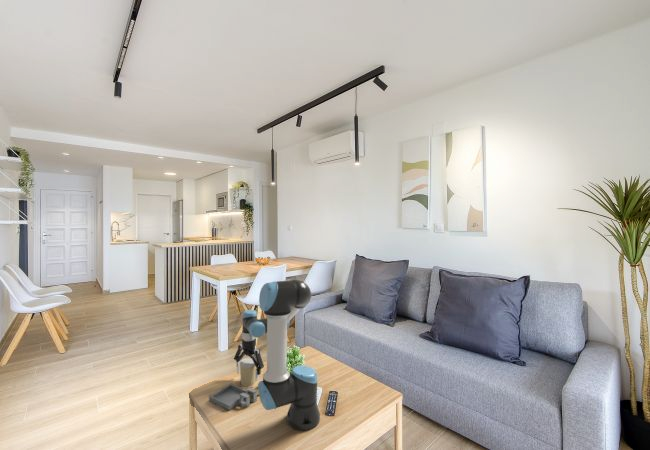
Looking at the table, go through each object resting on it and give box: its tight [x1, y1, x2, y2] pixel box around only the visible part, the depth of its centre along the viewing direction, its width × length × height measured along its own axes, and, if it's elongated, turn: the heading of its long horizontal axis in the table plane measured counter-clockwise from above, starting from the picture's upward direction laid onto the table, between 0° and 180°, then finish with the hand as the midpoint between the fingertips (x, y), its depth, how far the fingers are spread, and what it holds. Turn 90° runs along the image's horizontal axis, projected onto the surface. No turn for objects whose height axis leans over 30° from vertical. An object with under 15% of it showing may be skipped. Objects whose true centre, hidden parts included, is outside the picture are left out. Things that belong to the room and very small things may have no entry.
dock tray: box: [208, 383, 258, 411], centre depth 153 cm, size 19×14×5 cm
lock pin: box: [249, 385, 259, 398], centre depth 160 cm, size 15×4×4 cm, turn 150°
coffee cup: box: [239, 357, 256, 387], centre depth 170 cm, size 9×9×12 cm
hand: (248, 376), depth 170 cm, fingers open, 13 cm apart
